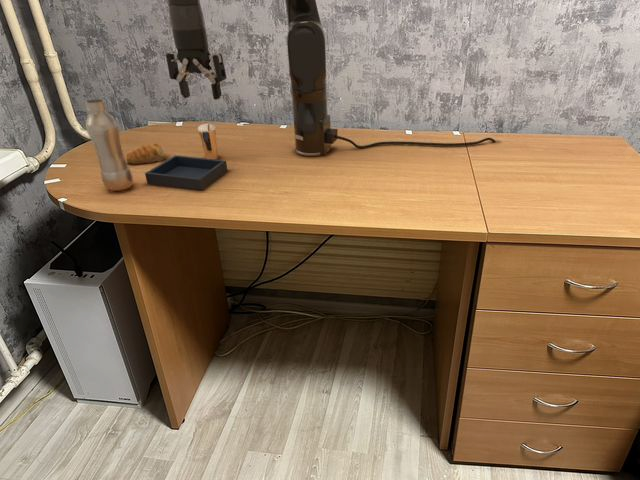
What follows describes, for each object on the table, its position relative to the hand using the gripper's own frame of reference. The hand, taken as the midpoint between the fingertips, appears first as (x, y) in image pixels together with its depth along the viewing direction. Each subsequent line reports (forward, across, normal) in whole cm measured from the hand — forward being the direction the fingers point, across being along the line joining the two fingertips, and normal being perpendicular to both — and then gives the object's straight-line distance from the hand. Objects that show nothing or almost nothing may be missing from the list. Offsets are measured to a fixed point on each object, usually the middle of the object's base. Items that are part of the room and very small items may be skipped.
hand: (201, 98), depth 121 cm
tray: (+16, -1, +13) cm, 21 cm away
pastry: (+16, +16, +5) cm, 23 cm away
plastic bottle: (+16, +11, +23) cm, 30 cm away
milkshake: (+16, 0, 0) cm, 16 cm away
